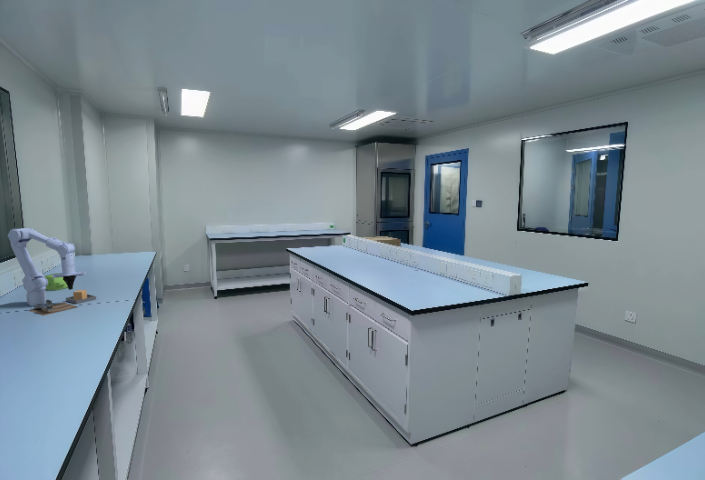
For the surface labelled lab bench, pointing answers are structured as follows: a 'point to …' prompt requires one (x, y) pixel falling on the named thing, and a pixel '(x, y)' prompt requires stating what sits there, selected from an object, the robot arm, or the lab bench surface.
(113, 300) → the lab bench surface
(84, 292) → the stop block
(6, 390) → the lab bench surface
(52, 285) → the green rough block
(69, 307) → the crank board
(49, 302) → the crank
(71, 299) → the tray
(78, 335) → the lab bench surface
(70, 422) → the lab bench surface
